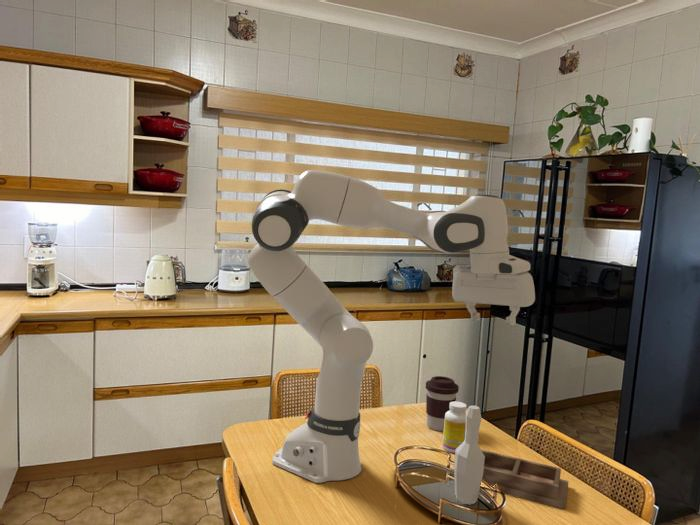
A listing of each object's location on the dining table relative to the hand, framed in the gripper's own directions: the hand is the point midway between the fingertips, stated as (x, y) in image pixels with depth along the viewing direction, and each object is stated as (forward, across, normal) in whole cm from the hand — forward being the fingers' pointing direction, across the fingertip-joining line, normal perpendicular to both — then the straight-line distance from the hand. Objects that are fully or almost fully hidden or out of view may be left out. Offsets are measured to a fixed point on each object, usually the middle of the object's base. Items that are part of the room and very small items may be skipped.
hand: (492, 322), depth 129 cm
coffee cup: (+40, -32, +18) cm, 54 cm away
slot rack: (+41, +1, +4) cm, 42 cm away
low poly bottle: (+40, -2, -12) cm, 41 cm away
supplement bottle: (+40, -20, +9) cm, 45 cm away
